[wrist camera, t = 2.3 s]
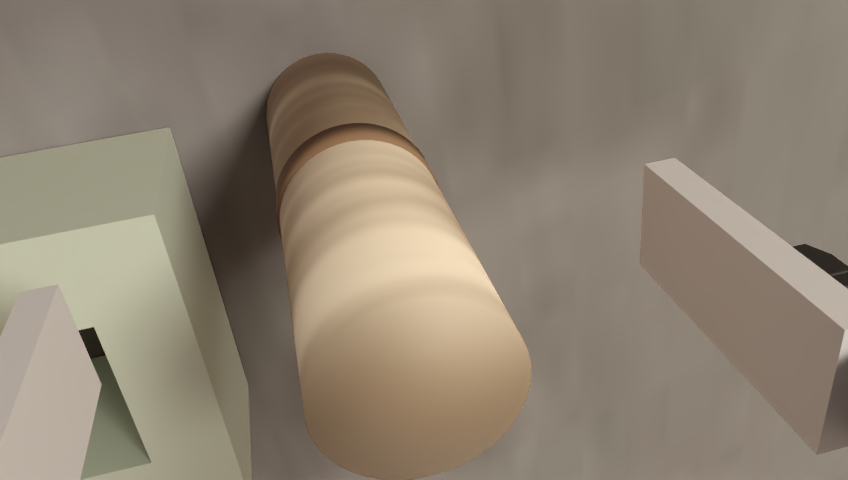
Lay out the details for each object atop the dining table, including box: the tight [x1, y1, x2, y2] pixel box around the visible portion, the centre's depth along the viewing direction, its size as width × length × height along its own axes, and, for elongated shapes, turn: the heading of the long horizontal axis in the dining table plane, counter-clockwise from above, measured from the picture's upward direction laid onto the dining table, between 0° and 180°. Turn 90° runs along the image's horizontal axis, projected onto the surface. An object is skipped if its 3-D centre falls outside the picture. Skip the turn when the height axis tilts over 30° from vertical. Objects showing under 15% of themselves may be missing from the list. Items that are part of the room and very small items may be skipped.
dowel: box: [266, 53, 531, 480], centre depth 19 cm, size 4×4×14 cm
